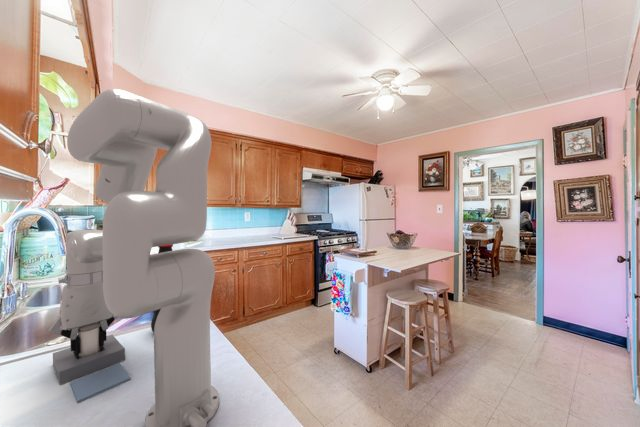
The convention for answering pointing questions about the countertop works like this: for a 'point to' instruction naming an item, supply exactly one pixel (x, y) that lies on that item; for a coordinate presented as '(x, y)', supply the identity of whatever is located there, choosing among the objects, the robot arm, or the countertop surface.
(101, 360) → the socket block
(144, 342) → the countertop surface
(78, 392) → the mat
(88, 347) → the plug
